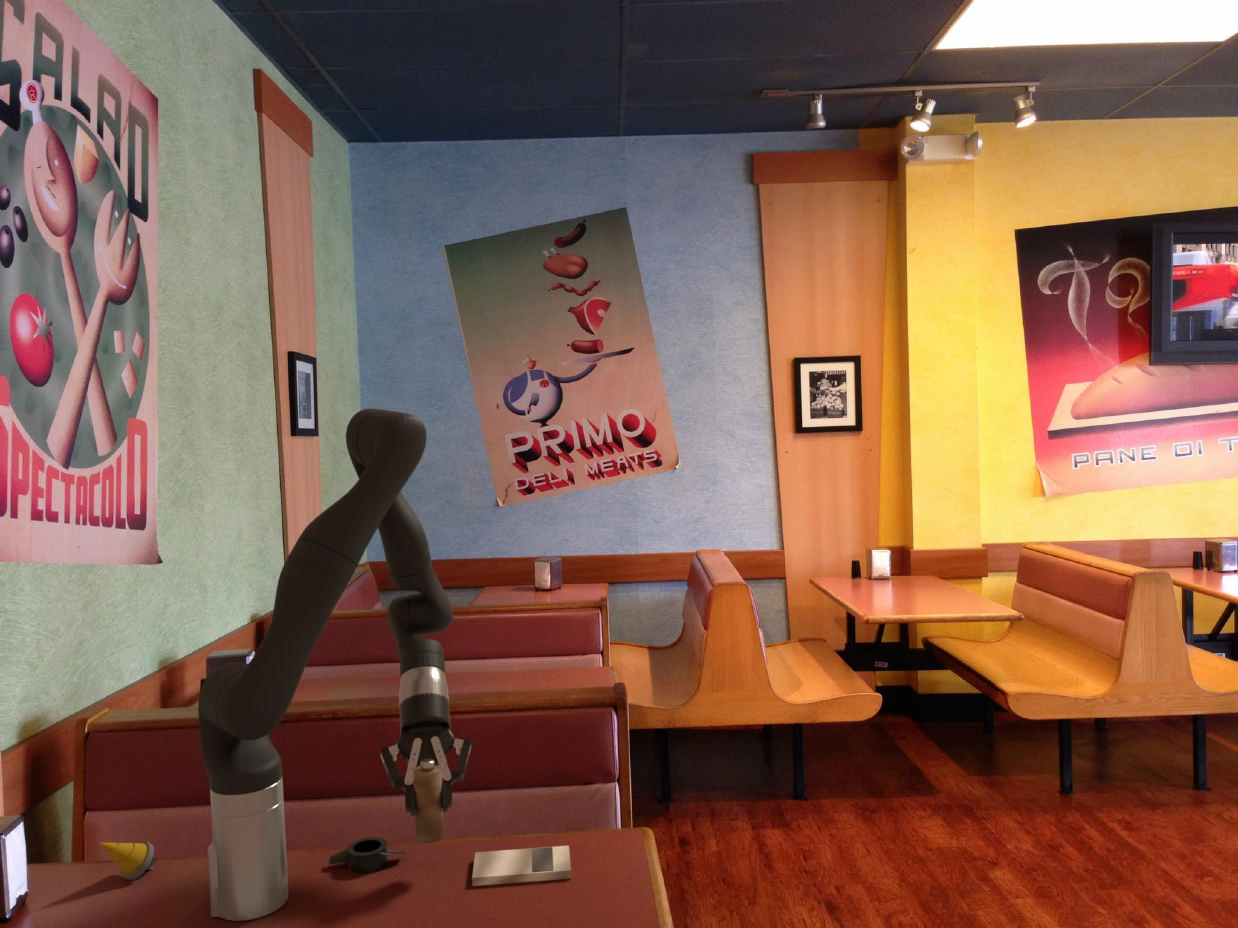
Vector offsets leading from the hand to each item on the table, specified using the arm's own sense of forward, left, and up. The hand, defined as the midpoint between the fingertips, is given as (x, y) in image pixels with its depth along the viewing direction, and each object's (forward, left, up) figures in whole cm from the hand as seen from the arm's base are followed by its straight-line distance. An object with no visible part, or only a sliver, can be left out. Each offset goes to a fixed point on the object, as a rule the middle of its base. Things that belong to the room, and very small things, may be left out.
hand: (429, 811), depth 131 cm
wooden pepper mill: (0, +2, -5) cm, 5 cm away
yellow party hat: (-44, +7, -10) cm, 46 cm away
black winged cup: (-10, +6, -10) cm, 16 cm away
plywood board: (+13, +1, -10) cm, 16 cm away
